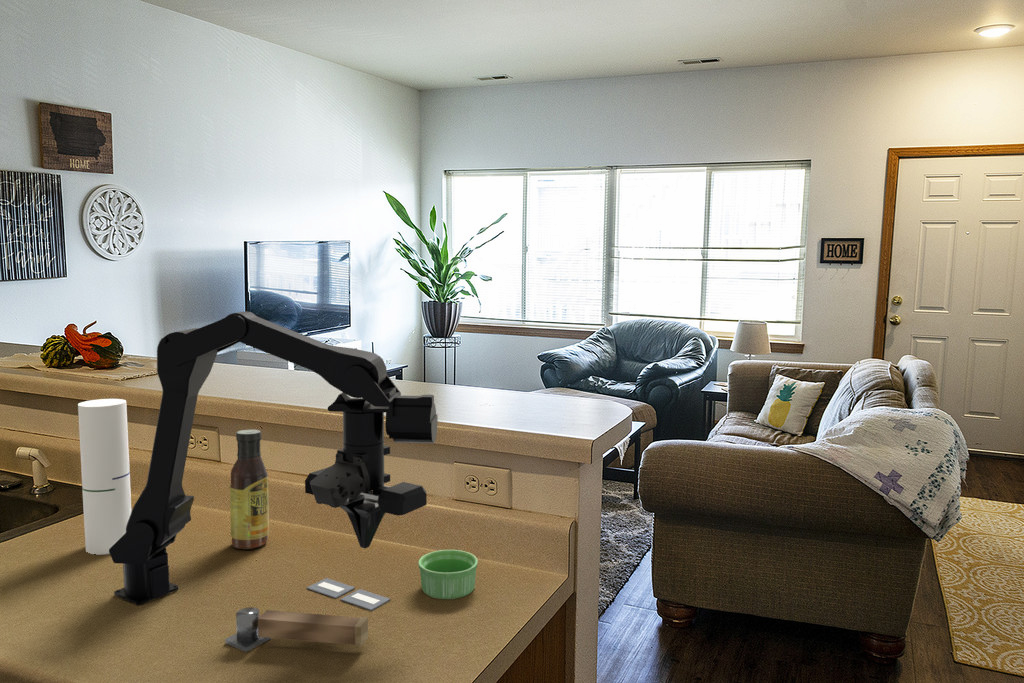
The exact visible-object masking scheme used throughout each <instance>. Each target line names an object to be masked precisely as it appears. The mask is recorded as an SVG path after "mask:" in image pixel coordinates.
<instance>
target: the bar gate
mask: <svg viewBox="0 0 1024 683" xmlns="http://www.w3.org/2000/svg"><path fill="white" fill-rule="evenodd" d="M368 618H369V617H368V616H361V617H357V616H355V617H353V616H345V615H344V616H342V615H331V614H330V615H329V614H319V613H305V612H297V611H296V612H295V611H282V610H272V609H271V610H270V609H269V610H268V609H267V610H265V611H264V612H263V613H262V614H260V615H259V618H258V637H269V638H271V639H280V640H281V639H283V640H292V641H293V640H294V641H304V642H305V641H306V642H316V643H326V644H327V643H328V644H338V645H351V646H355V647H361V648H362V646H363V645H364V643H365V642H366V641H367V639H368V637H369V619H368Z"/></svg>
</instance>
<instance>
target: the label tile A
mask: <svg viewBox="0 0 1024 683" xmlns="http://www.w3.org/2000/svg"><path fill="white" fill-rule="evenodd" d="M306 589H307V590H310V591H313V592H315V593H319V594H322V595H324V596H327V597H331V598H333V599H337V598H339V597H340V598H341V597H342V596H344V595H345V594H347V593H350V592H351V591H353V590H355V589H356V587H355V586H352V585H348V584H347V583H343V582H341V581H336V580H334V579H332V578H331V579H330V578H328V577H326V578H324V579H322V580H321V579H320V581H319V580H318V581H317V582H316V583H313V584H311V585H308V586H307V587H306Z"/></svg>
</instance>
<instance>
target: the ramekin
mask: <svg viewBox="0 0 1024 683" xmlns="http://www.w3.org/2000/svg"><path fill="white" fill-rule="evenodd" d="M478 562H479V561H478V558H477V556H475V555H474V554H473V553H471V552H468V551H464V550H459V549H440V550H435V551H431V552H429V553H426V554H424V555H422V556H421V557H420V558H419V560H418V562H417V565H418V568H419V572H420V584H421V589H422V592H423V593H424V594H426V595H427V596H429V597H431V598H433V599H438V600H455V599H460V598H464V597H465V596H468V595H469V594H471V593H472V592H473V591H474V590H475V587H476V576H477V567H478Z"/></svg>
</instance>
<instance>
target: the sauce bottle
mask: <svg viewBox="0 0 1024 683" xmlns="http://www.w3.org/2000/svg"><path fill="white" fill-rule="evenodd" d="M235 437H236V439H235V440H236V441H237V453H236V456H237V459H236V461H235V463H234V464H233V466H232V468H231V469H230V470H231V471H230V485H229V489H230V490H229V496H230V498H229V499H230V500H229V504H230V505H229V507H230V510H229V512H230V515H229V516H230V517H229V518H230V537H231V545H232V547H233V548H235V549H238V550H253V549H256V548H257V549H258V548H261V547H263V546H265V545H266V544H267V543H268V541H269V540H268V539H269V534H270V530H269V529H270V522H269V521H270V520H269V519H270V516H269V513H270V512H269V511H270V510H269V474H268V472H267V469H266V467H265V464H264V461H263V459H262V453H261V440H262V432H261V430H259V429H242V430H238V431H237V432H236V435H235Z"/></svg>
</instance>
